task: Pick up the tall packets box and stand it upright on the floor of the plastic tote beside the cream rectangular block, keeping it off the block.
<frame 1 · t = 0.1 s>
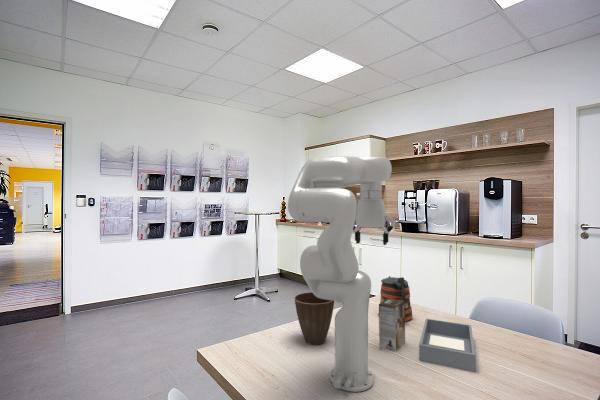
hand: (371, 243, 112), 37 cm above the table, tool pointing down, fingers open, 9 cm apart
plant pot: (314, 341, 116), on the table
coffee box: (392, 348, 110), on the table
beer stein: (397, 318, 138), on the table
cream rectangular block: (446, 357, 101), point 1 cm above the table, touching tote
tote: (447, 351, 107), on the table
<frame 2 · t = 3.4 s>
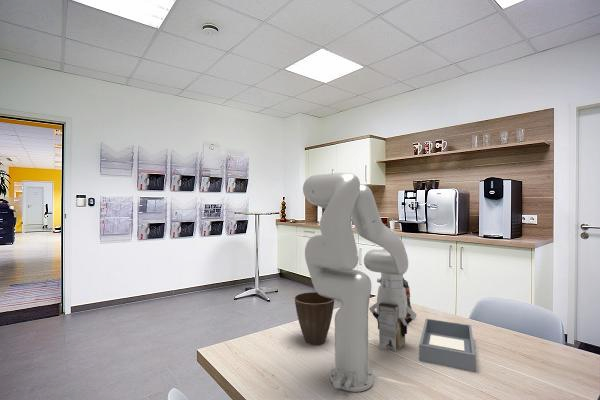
hand: (392, 333, 110), 5 cm above the table, tool pointing down, fingers closed on coffee box, 7 cm apart
coffee box: (392, 348, 110), on the table, touching gripper
everything else where it was.
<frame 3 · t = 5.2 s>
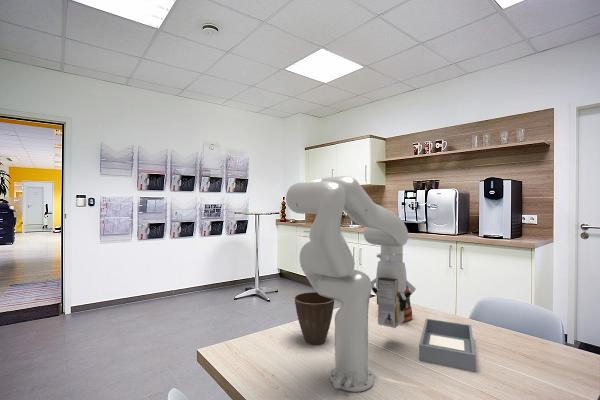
hand: (391, 308, 110), 14 cm above the table, tool pointing down, fingers closed on coffee box, 7 cm apart
coffee box: (391, 323, 110), point 9 cm above the table, touching gripper
everything else where it was.
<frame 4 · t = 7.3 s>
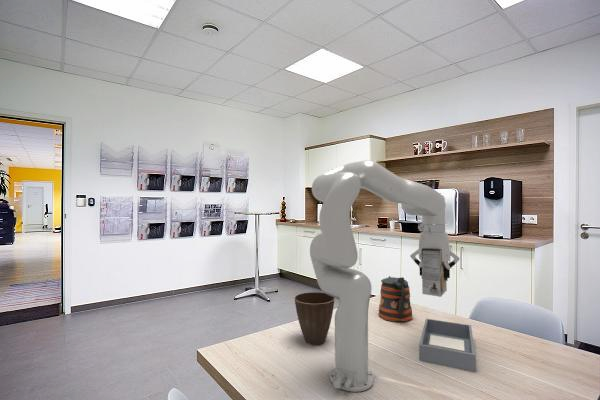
hand: (434, 278, 111), 24 cm above the table, tool pointing down, fingers closed on coffee box, 7 cm apart
coffee box: (434, 293, 111), point 19 cm above the table, touching gripper
everything else where it was.
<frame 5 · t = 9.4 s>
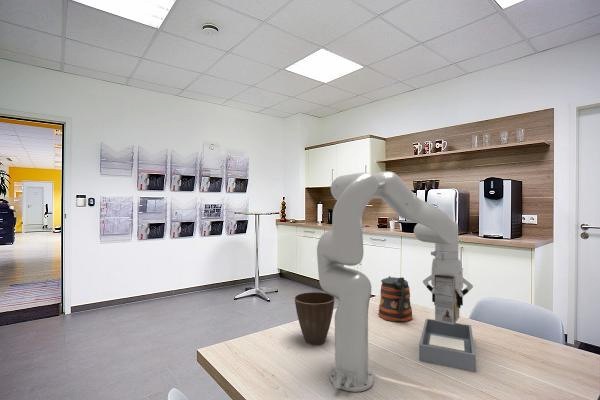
hand: (447, 305, 111), 15 cm above the table, tool pointing down, fingers closed on coffee box, 7 cm apart
coffee box: (447, 319, 111), point 10 cm above the table, touching gripper
everything else where it was.
when the fingers open (8 cm above the table, at t = 11.2 s): coffee box drops 2 cm, resting on tote.
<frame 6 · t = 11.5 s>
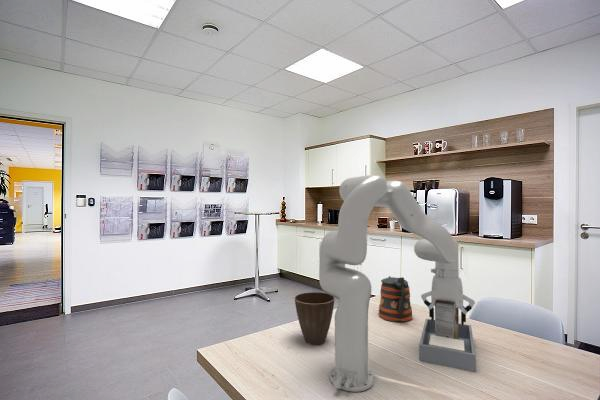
hand: (447, 321, 111), 9 cm above the table, tool pointing down, fingers open, 9 cm apart
coffee box: (447, 344, 110), point 1 cm above the table, touching tote
everything else where it was.
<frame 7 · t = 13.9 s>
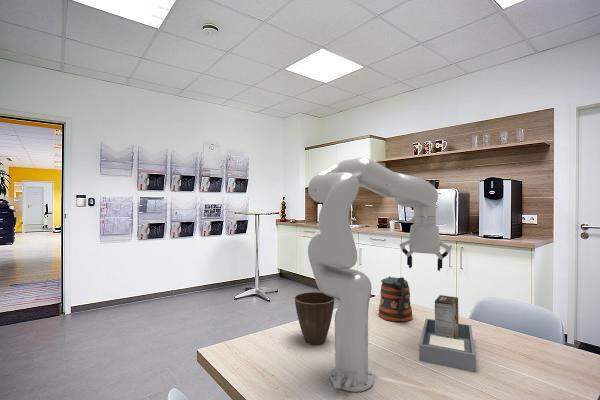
hand: (424, 268, 112), 27 cm above the table, tool pointing down, fingers open, 9 cm apart
nothing on the table moved.
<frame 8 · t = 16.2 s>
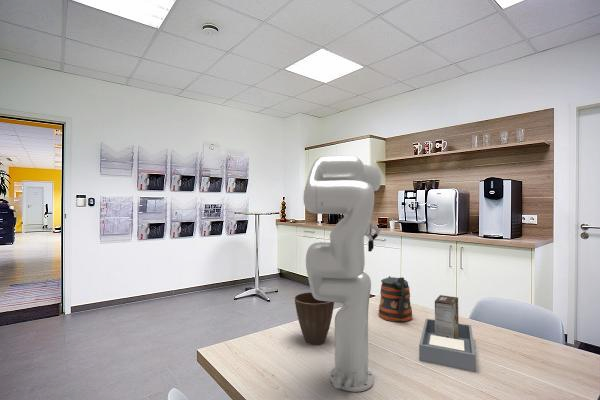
hand: (357, 250, 118), 33 cm above the table, tool pointing down, fingers open, 9 cm apart
nothing on the table moved.
at the end: coffee box inside the target area on the tote (0.6 cm from its centre), point 0.8 cm above the tote's base; coffee box tilted 0°; cream rectangular block moved 0.1 cm from its start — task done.
